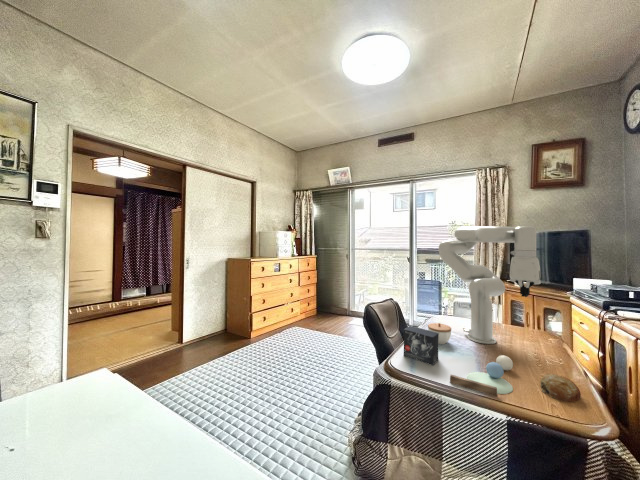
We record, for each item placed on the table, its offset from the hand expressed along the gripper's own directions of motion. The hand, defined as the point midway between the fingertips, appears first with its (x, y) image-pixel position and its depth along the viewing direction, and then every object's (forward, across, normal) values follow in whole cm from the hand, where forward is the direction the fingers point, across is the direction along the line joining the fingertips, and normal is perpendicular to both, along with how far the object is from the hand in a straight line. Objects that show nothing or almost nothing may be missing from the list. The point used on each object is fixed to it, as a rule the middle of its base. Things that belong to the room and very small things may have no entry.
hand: (524, 296), depth 114 cm
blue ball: (+24, -2, -29) cm, 38 cm away
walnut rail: (+27, -4, -43) cm, 51 cm away
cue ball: (+24, -2, -19) cm, 31 cm away
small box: (+27, -28, -36) cm, 53 cm away
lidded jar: (+27, -32, -12) cm, 44 cm away
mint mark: (+27, -2, -34) cm, 44 cm away
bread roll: (+28, +15, -23) cm, 39 cm away
